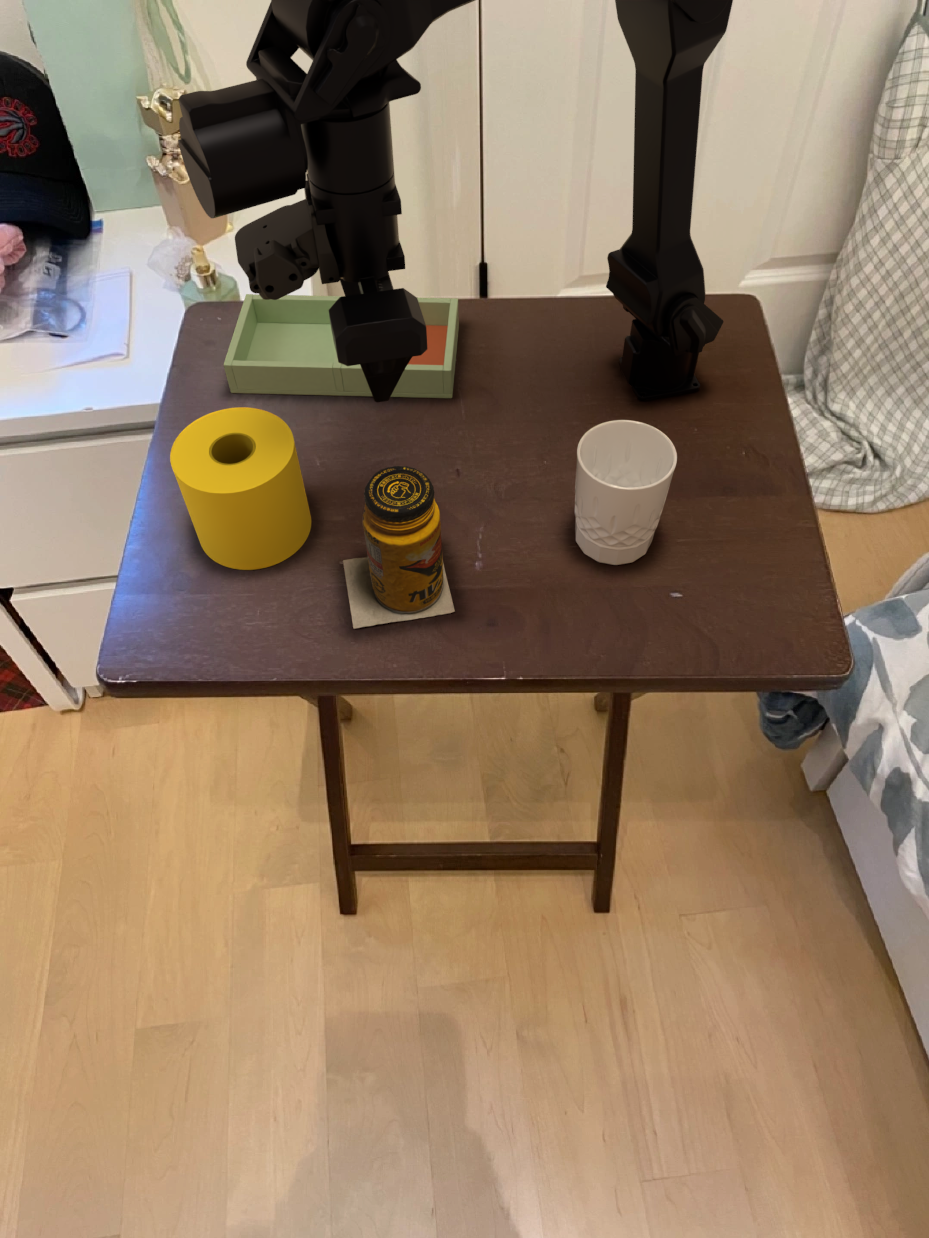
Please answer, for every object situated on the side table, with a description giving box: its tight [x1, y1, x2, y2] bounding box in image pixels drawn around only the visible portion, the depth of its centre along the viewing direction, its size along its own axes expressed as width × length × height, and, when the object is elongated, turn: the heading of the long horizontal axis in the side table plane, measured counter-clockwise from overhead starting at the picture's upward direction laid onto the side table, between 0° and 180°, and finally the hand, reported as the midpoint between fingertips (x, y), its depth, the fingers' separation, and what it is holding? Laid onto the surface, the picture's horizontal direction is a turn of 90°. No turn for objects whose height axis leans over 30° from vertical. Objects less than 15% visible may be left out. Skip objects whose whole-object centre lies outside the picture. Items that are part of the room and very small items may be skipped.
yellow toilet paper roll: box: [169, 406, 312, 571], centre depth 80 cm, size 10×10×9 cm
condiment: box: [342, 465, 456, 630], centre depth 74 cm, size 7×8×12 cm
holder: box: [222, 293, 460, 399], centre depth 96 cm, size 22×12×4 cm, turn 87°
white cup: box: [574, 419, 678, 566], centre depth 78 cm, size 8×8×10 cm
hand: (371, 363), depth 75 cm, fingers open, 9 cm apart
